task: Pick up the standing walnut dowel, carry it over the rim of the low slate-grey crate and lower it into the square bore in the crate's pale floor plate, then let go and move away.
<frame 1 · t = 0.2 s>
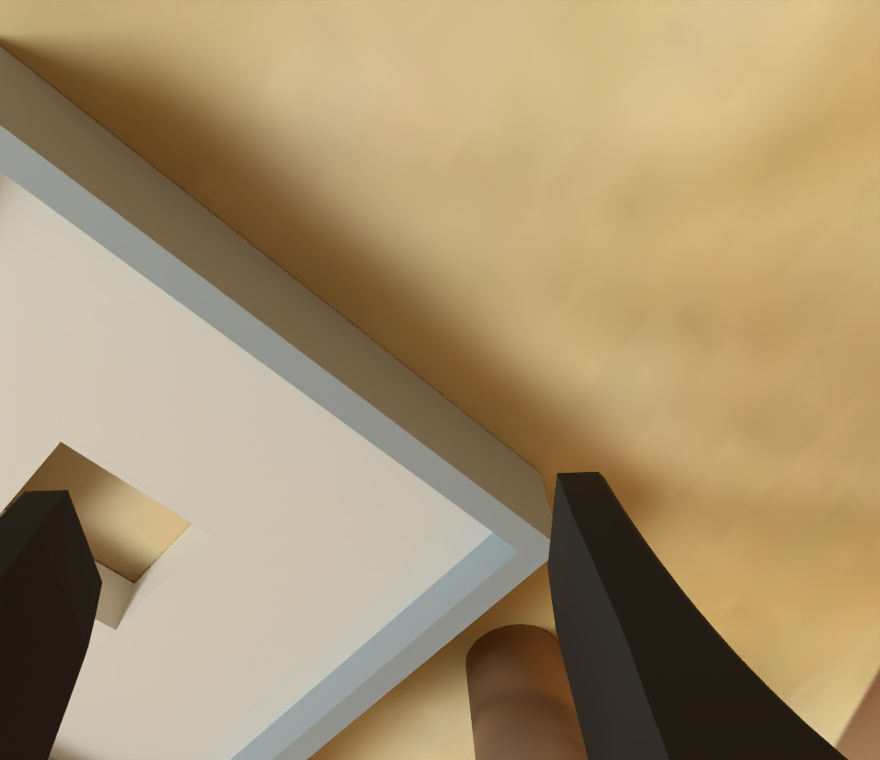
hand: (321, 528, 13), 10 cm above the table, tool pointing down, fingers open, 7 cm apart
crate: (111, 498, 25), on the table
peg: (515, 661, 29), on the table
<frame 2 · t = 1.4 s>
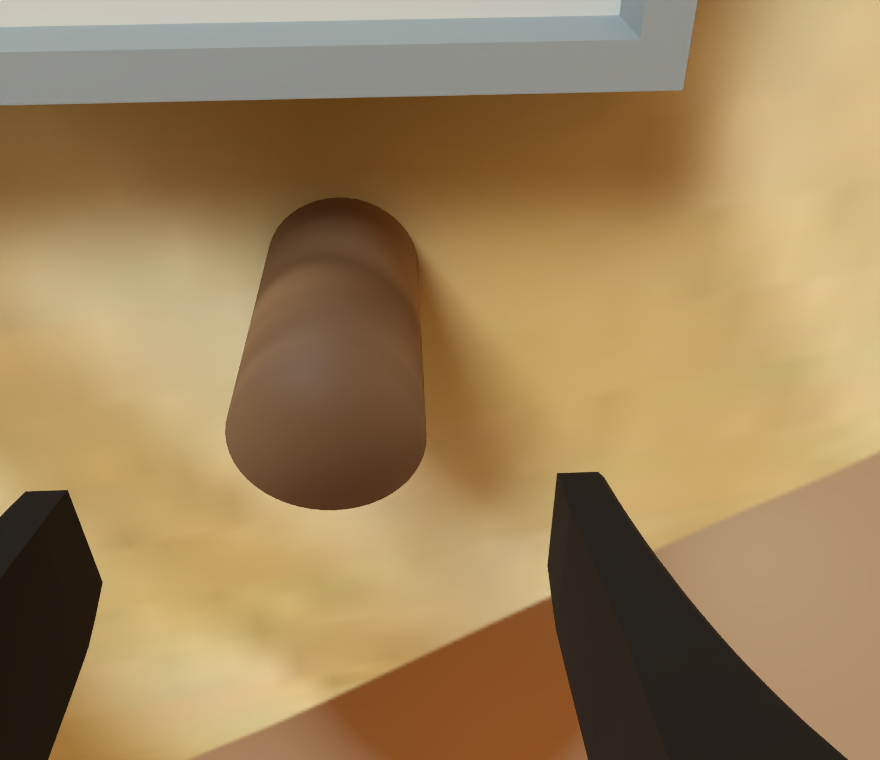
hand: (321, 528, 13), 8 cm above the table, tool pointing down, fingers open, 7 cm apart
peg: (343, 267, 19), on the table
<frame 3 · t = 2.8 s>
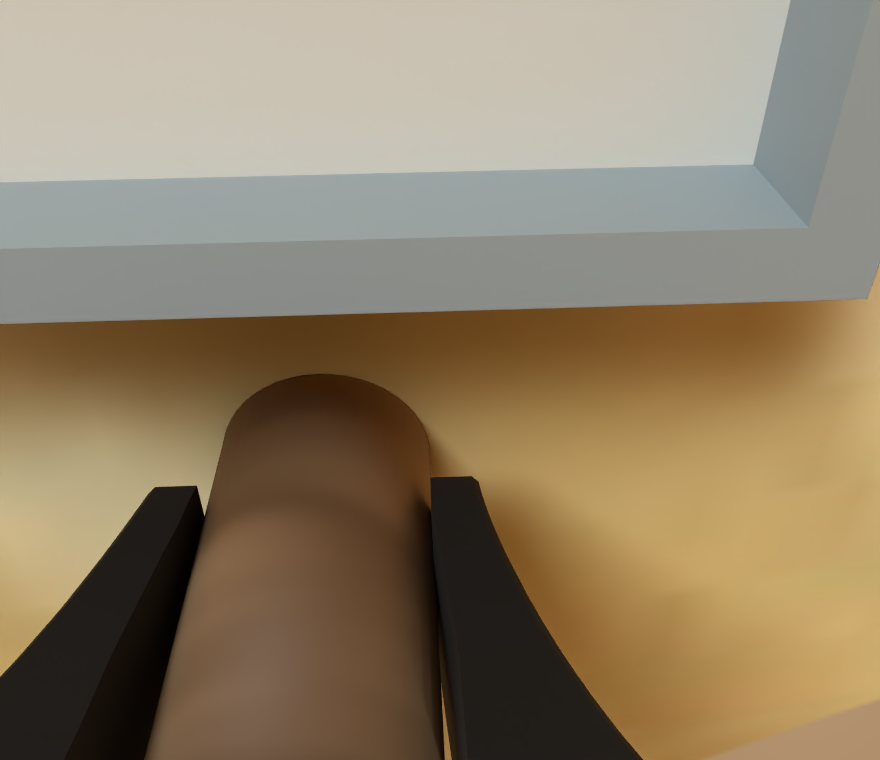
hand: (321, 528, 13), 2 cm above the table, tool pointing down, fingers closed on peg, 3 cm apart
peg: (327, 456, 14), on the table, touching gripper
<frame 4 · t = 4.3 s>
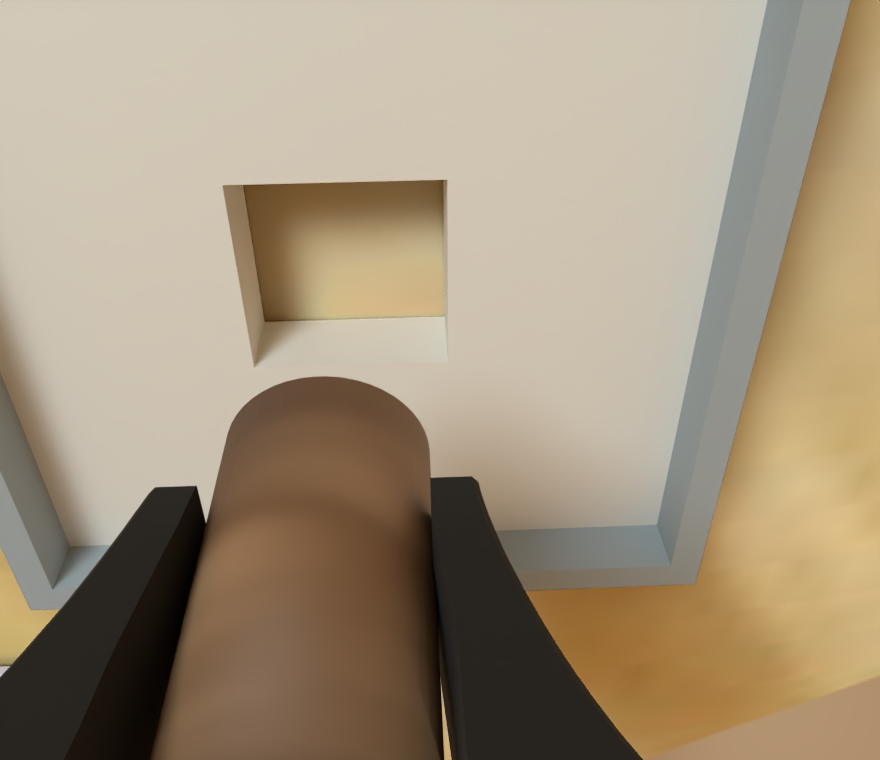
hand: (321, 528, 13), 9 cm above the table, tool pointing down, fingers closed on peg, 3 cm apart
crate: (348, 238, 20), on the table
peg: (328, 456, 14), point 8 cm above the table, touching gripper
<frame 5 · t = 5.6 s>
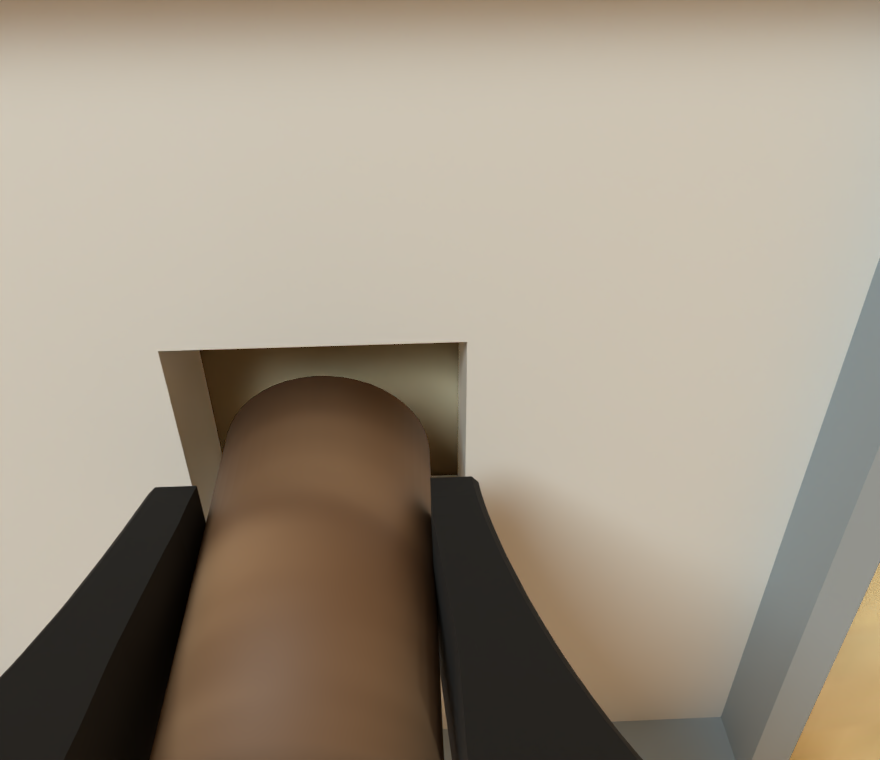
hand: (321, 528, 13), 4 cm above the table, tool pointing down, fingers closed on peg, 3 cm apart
crate: (334, 387, 15), on the table
peg: (328, 456, 14), point 2 cm above the table, touching gripper
when the fingers open (3 cm above the table, at t = 6.3 s): peg stays where it is, resting in crate.
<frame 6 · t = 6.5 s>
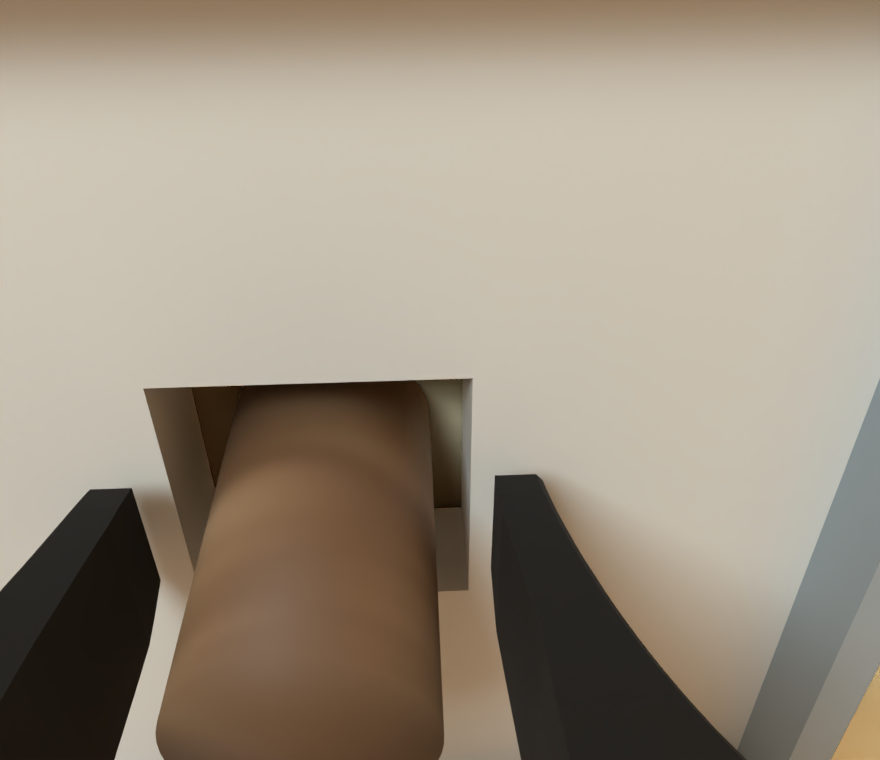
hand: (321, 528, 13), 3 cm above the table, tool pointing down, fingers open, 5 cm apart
crate: (331, 419, 15), on the table
peg: (333, 422, 15), resting in crate
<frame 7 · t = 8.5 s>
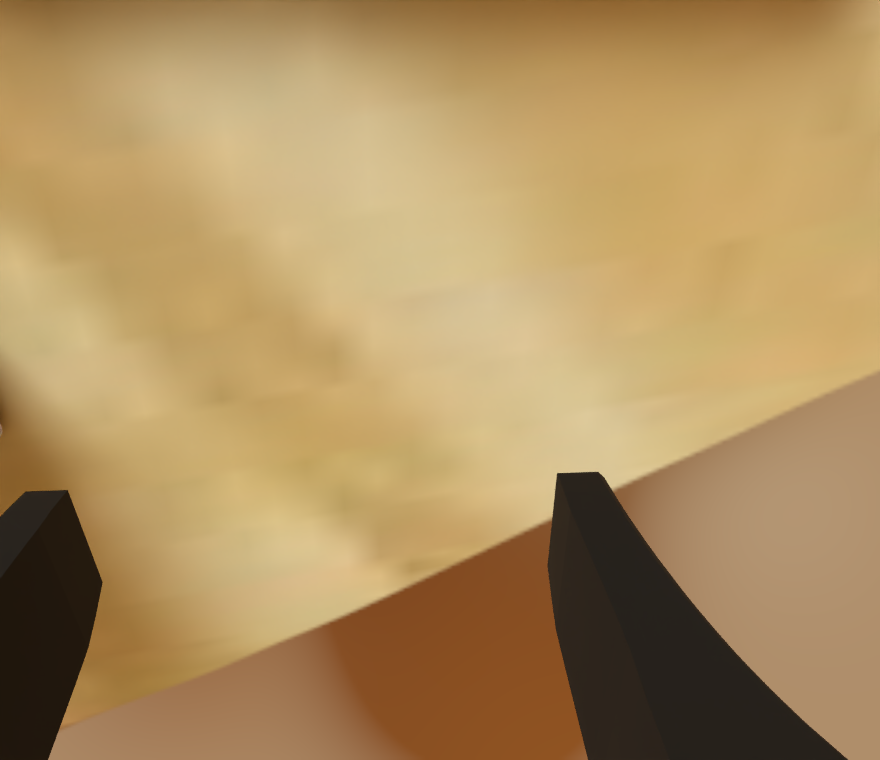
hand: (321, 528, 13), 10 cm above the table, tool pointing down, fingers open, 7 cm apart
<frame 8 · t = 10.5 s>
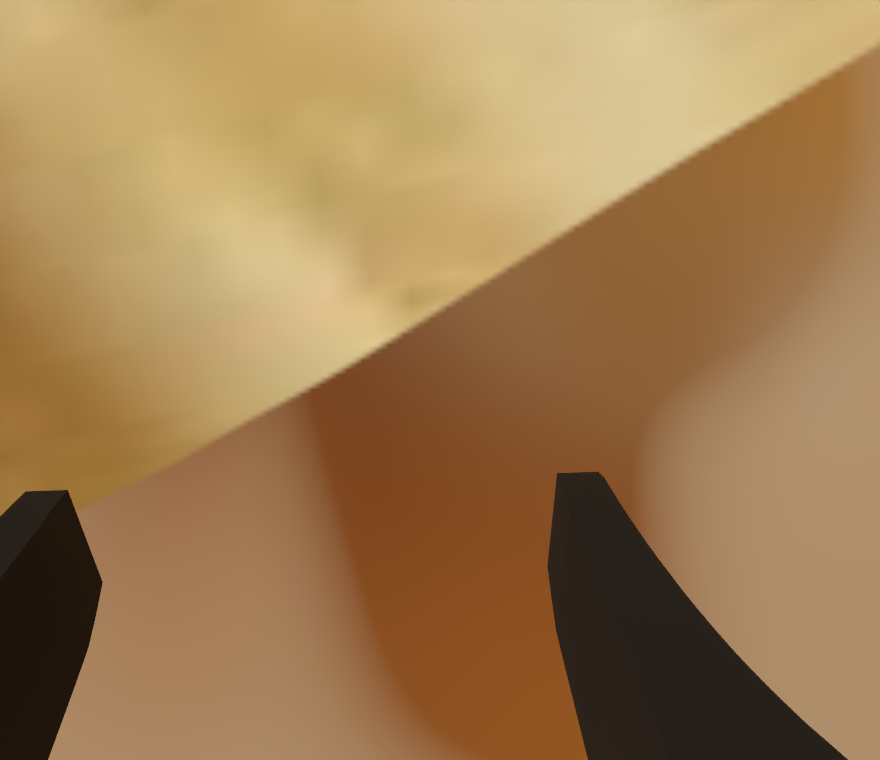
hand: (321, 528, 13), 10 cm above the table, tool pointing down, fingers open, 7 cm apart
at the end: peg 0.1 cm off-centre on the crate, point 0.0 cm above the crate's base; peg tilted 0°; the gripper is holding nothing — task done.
